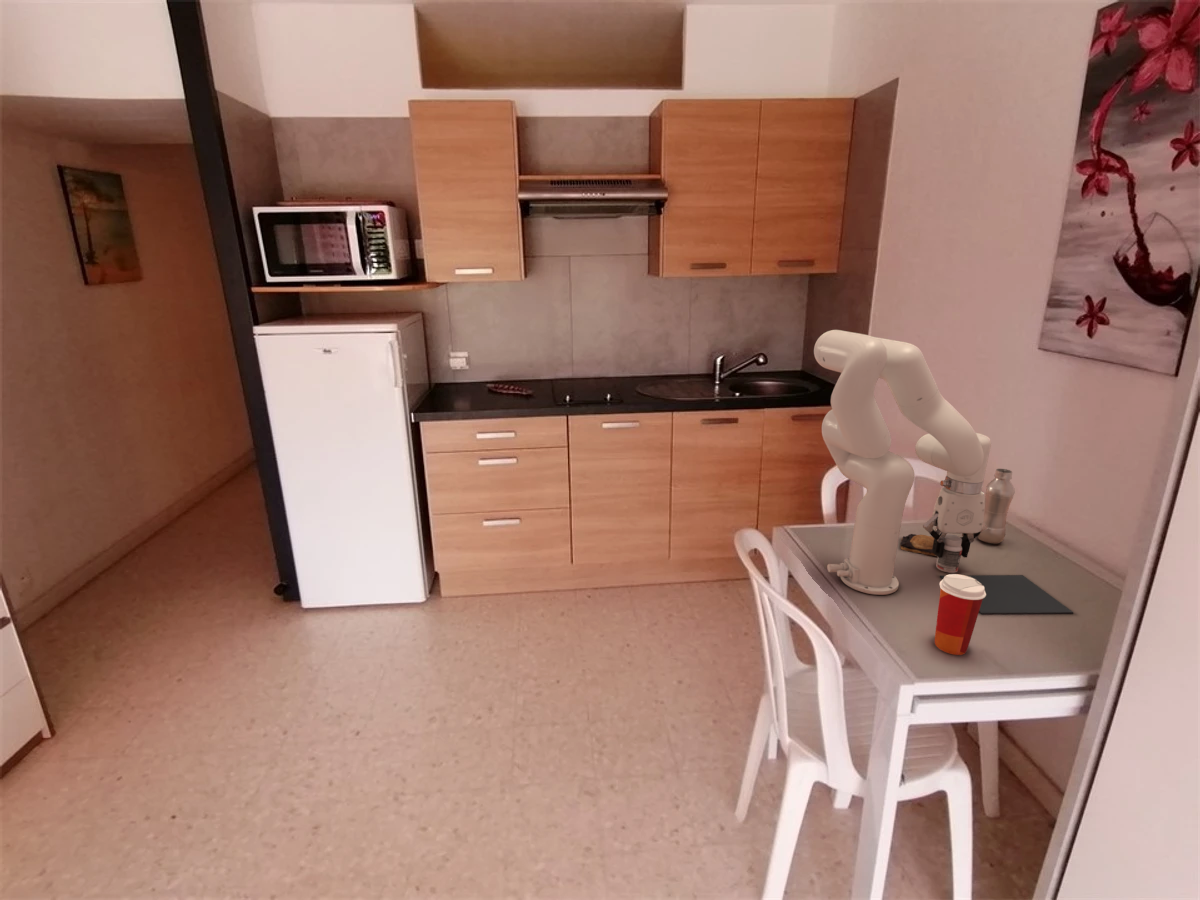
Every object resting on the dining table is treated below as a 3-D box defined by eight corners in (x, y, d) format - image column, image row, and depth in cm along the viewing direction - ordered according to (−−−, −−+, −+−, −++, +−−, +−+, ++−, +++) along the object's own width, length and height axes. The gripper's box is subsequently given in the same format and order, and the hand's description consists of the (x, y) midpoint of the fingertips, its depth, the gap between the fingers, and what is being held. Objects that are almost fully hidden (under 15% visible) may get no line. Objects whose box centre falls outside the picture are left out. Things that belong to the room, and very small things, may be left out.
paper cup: (958, 634, 123) (971, 572, 119) (981, 658, 116) (996, 593, 112) (919, 634, 123) (931, 572, 119) (941, 658, 116) (954, 593, 112)
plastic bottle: (968, 537, 166) (983, 468, 160) (988, 534, 168) (1002, 465, 162) (989, 547, 160) (1005, 476, 154) (1009, 544, 162) (1025, 473, 156)
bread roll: (945, 546, 161) (948, 533, 160) (945, 559, 154) (948, 546, 153) (901, 537, 166) (903, 525, 165) (899, 550, 159) (901, 537, 158)
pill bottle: (960, 574, 147) (967, 542, 144) (939, 572, 148) (945, 540, 145) (953, 565, 151) (960, 534, 149) (933, 563, 152) (939, 532, 150)
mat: (980, 614, 130) (981, 612, 130) (939, 576, 146) (939, 575, 145) (1073, 613, 131) (1073, 612, 131) (1022, 576, 146) (1022, 575, 146)
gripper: (935, 491, 139) (922, 562, 145) (1009, 490, 140) (994, 562, 145) (918, 479, 146) (906, 548, 152) (989, 479, 147) (974, 547, 152)
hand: (949, 554), depth 148 cm, fingers open, 5 cm apart
